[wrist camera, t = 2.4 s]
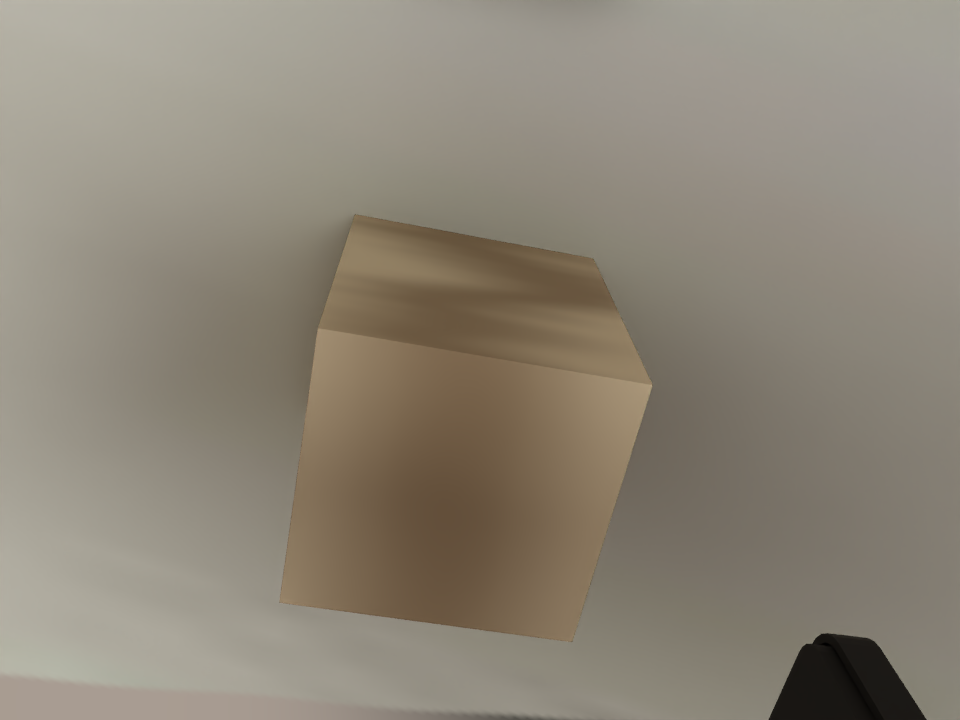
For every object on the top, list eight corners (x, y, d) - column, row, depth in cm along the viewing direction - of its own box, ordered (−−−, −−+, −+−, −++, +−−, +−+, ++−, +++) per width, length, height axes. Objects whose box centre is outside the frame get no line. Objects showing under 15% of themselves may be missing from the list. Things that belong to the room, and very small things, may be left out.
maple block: (592, 258, 19) (652, 385, 14) (539, 460, 21) (572, 642, 16) (354, 213, 18) (318, 328, 13) (323, 426, 20) (279, 602, 15)
